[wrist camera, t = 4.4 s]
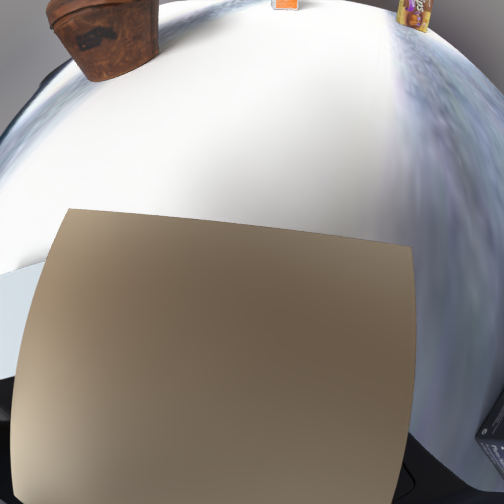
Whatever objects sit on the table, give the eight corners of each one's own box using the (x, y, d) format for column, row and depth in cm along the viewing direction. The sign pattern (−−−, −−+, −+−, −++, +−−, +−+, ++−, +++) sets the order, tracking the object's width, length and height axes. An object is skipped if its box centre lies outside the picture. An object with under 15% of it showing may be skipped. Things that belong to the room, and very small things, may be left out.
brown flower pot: (163, 32, 40) (147, -39, 23) (190, 58, 31) (170, -48, 15) (80, 68, 37) (53, -1, 21) (74, 109, 29) (28, 10, 13)
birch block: (284, 442, 12) (350, 591, 1) (189, 426, 12) (14, 494, 1) (298, 353, 14) (410, 246, 3) (205, 339, 14) (68, 208, 4)
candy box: (421, 29, 48) (430, -9, 35) (426, 33, 47) (436, -7, 33) (395, 20, 49) (402, -20, 36) (398, 23, 48) (407, -19, 34)
